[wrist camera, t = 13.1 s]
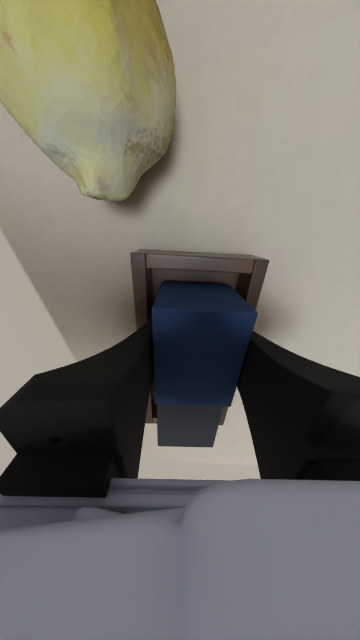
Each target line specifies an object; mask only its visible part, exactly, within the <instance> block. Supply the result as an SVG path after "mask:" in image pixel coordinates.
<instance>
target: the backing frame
mask: <svg viewBox="0 0 360 640" xmlns="http://www.w3.org/2000/svg"><path fill="white" fill-rule="evenodd" d="M268 263H269V260H267V259H263V258H259V257H256V256H252V255H234V254H216V253H197V252H179V251H160V250H141V249H140V250H138V251H135V252H132V253H131V266H132V278H133V291H134V303H135V316H136V328H137V330H138V329H139V328H141V327H142V326H143V325H144V324H145V323H146V322H148V321H149V320H150V319H152V307H153V304H154V302H155V299H156V296H157V294H158V291H159V289H160V286H161V283H162V282H181V283H201V284H221V285H230V286H231V287H232V288H233V289H234V290H235V291H236V292H237V293H238V294H239V295H240V296H241V297H242V298H243V299H244V300H245V301H246V302H247V303H248V304H249V305H250V306H251V307H252V308H253V309H254V310H256V306H257V302H258V299H259V295H260V292H261V288H262V285H263V281H264V278H265V274H266V270H267V267H268ZM227 409H228V407H223V409H222V413H221V417H220V421H219V425H223V424H224V420H225V417H226V413H227ZM145 423H157V404H155V401H154V378H153V382H152V386H151V390H150V395H149V401H148V407H147V413H146V420H145Z"/></svg>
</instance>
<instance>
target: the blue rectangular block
mask: <svg viewBox="0 0 360 640" xmlns="http://www.w3.org/2000/svg"><path fill="white" fill-rule="evenodd" d="M256 317H257V312H256V311H255V310H254V309H253V308H252V307H251V306H250V305H249V304H248V303H247V302H246V301H245V300H244V299H243V298H242V297H241V296H240V295H239V294H238V293H237V292H236V291H235V290H234V289H233V288H232V287H231V286H230V285H221V284H201V283H181V282H162V283H161V286H160V289H159V291H158V294H157V296H156V299H155V302H154V304H153V307H152V335H153V368H154V401H155V404H157V405H189V406H221V407H230V406H231V403H232V400H233V397H234V393H235V390H236V386H237V383H238V379H239V376H240V372H241V369H242V366H243V362H244V359H245V355H246V352H247V348H248V345H249V341H250V338H251V334H252V331H253V328H254V324H255V321H256Z"/></svg>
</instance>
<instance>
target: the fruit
mask: <svg viewBox="0 0 360 640" xmlns="http://www.w3.org/2000/svg"><path fill="white" fill-rule="evenodd" d="M0 101H1V103H2V104H3V105H4V107H5V108H6V110H7V111H8V112H9V114H10V115H11V116H12V117H13V118H14V119H15V121H16V122H17V123H18V124H19V125H20V127H21V128H22V129H23V130H24V131H25V133H26V134H27V135H28V136H29V137H30V138H31V139H32V141H33V142H34V143H35V144H36V145H37V146H38V147H39V148H40V149H41V151H42V152H43V153H45V154H46V155H47V156H48V157H49V158H50V159H51V160H52V161H53V162H54V163H55V164H56V165H57V166H58V167H59V168H60V169H61V170H63V171H64V172H65V173H66V174H67V175H68V176H70V177H71V178H72V179H73V180H74V181H75V182H76V183H77V185H78V187H79V189H80V192H81V195H84V196H87V197H90V198H93V199H97V200H111V201H116V202H119V201H123V200H125V199H126V198H128V197H129V196H130V195H131V193H132V192H133V190H134V188H135V186H136V185H137V183H138V181H139V179H140V177H141V175H143V174H144V173H145V172H146V171H147V170H148V169H149V168H150V167H152V166H153V165H154V164H155V163H156V162H157V161H158V160H160V159H161V157H163V155H164V154H165V153H166V151H167V149H168V147H169V143H170V140H171V137H172V131H173V125H174V118H175V107H176V79H175V68H174V62H173V58H172V52H171V49H170V46H169V43H168V40H167V36H166V32H165V29H164V25H163V22H162V18H161V15H160V11H159V8H158V5H157V3H156V0H0Z"/></svg>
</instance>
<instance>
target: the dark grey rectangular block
mask: <svg viewBox="0 0 360 640" xmlns="http://www.w3.org/2000/svg"><path fill="white" fill-rule="evenodd" d="M222 409H223V407H221V406H189V405H157V429H158V446H180V447H213V444H214V440H215V436H216V433H217V429H218V425H219V421H220V417H221V413H222Z"/></svg>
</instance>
